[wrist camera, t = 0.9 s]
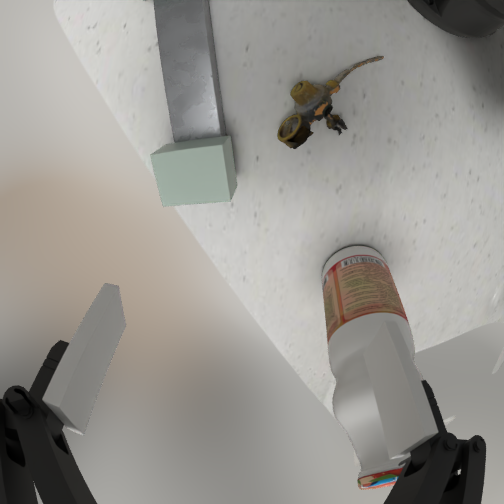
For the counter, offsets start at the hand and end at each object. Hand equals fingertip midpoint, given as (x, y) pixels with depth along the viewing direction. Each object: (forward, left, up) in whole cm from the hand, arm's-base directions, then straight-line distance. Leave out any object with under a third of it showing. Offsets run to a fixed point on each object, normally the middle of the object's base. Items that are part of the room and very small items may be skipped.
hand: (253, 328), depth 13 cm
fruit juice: (-10, +14, -22) cm, 28 cm away
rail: (+7, -14, -22) cm, 27 cm away
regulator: (-6, -9, -22) cm, 25 cm away
